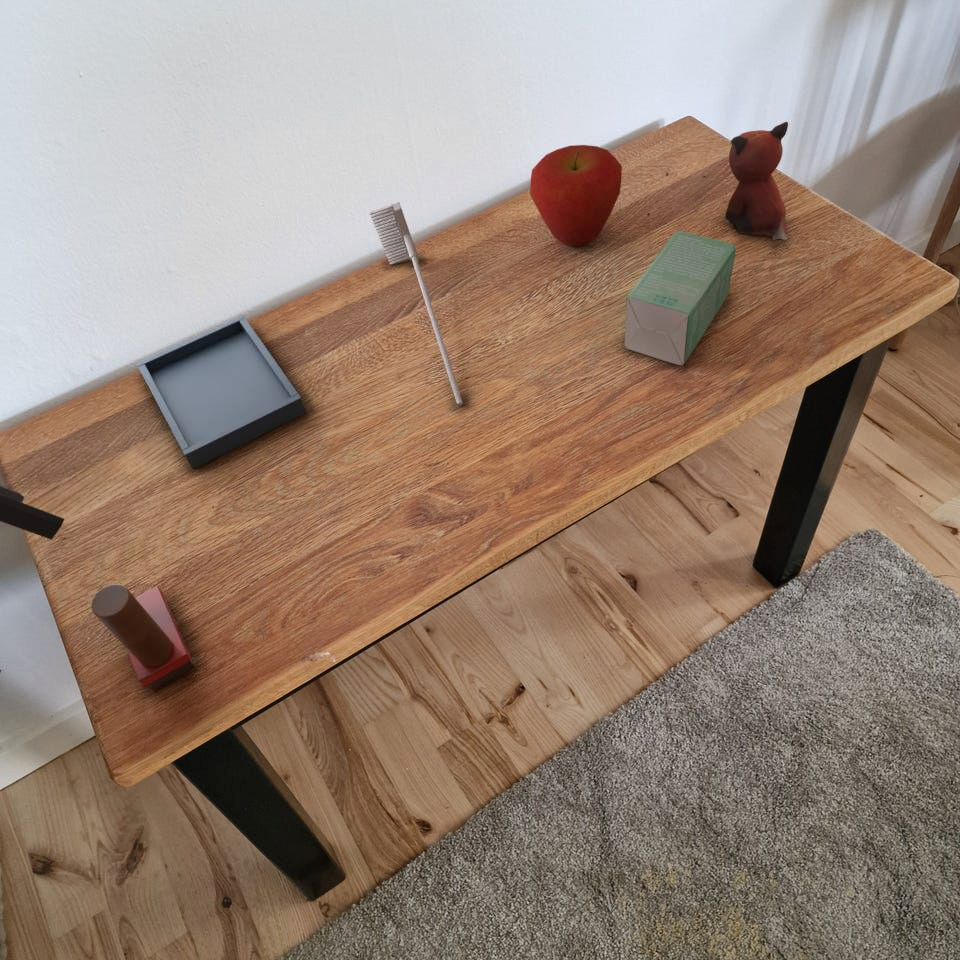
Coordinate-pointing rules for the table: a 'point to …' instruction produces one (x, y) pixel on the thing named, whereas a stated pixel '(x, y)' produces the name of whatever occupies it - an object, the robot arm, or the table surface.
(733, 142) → the stuffed fox
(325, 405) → the table surface
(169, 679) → the brown cylinder on base
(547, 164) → the apple
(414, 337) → the table surface
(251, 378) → the tray
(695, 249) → the box
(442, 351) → the brush
